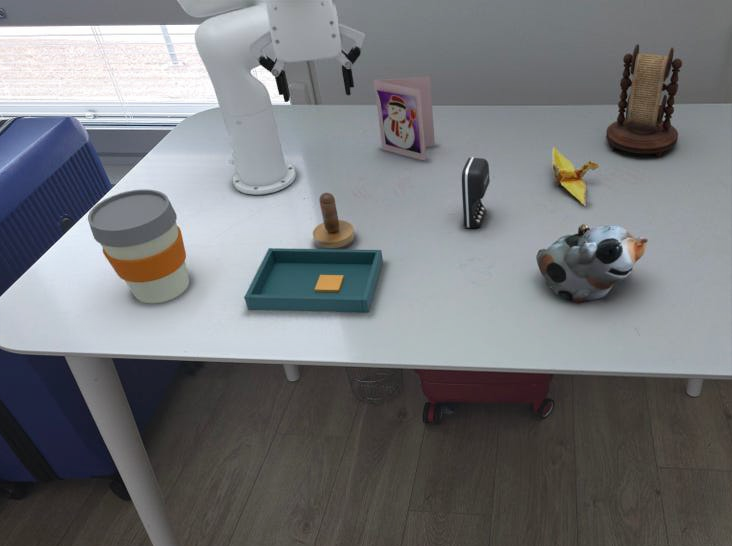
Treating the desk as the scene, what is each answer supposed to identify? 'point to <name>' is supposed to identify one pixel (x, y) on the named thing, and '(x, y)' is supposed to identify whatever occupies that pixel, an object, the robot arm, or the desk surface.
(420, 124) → the greeting card
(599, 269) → the lucky cat figurine
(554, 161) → the origami crane
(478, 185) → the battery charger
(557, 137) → the desk surface
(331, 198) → the stamp
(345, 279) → the tray
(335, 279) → the orange flat square block
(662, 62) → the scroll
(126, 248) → the reusable coffee cup
